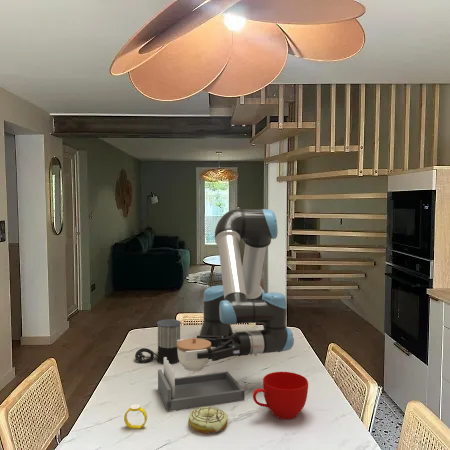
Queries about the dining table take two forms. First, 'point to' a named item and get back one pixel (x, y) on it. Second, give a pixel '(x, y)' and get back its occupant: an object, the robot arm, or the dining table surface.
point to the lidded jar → (191, 346)
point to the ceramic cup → (284, 394)
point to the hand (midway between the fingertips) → (181, 350)
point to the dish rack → (197, 389)
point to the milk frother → (164, 343)
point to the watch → (135, 408)
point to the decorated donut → (208, 419)
